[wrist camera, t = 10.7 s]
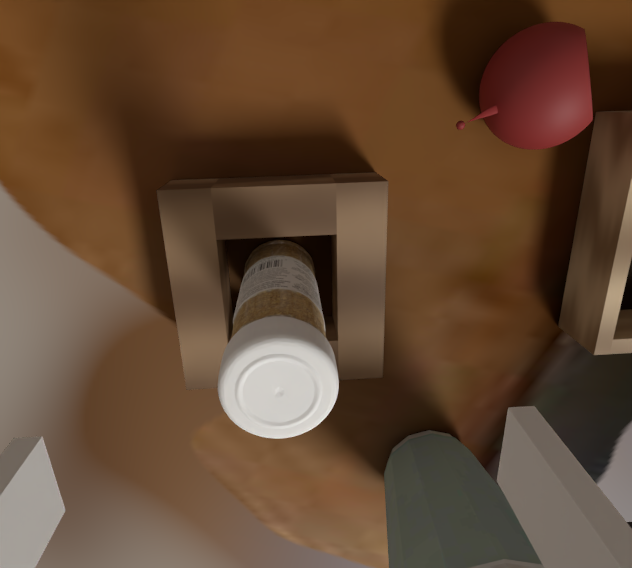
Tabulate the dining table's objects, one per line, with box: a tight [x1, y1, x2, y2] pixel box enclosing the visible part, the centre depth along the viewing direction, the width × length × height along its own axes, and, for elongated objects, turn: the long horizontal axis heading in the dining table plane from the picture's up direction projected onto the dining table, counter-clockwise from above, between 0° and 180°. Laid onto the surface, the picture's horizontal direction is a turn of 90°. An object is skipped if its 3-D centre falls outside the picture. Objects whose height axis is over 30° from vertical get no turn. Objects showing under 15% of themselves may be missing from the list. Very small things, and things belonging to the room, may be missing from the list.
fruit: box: [456, 22, 593, 149], centre depth 24 cm, size 6×6×8 cm
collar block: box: [156, 172, 388, 390], centre depth 28 cm, size 12×12×4 cm
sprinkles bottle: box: [218, 240, 339, 439], centre depth 23 cm, size 5×5×13 cm
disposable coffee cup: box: [384, 430, 544, 568], centre depth 29 cm, size 11×11×15 cm
